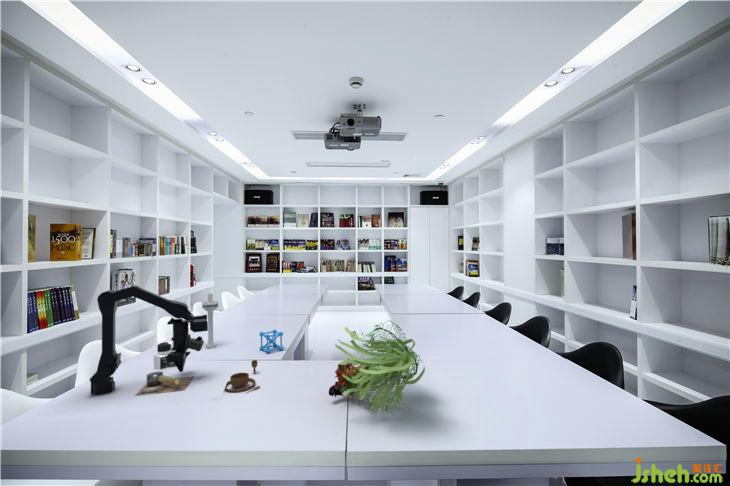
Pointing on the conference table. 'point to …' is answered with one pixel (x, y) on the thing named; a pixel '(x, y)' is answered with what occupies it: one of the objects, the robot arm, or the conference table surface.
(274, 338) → the molecular structure
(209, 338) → the model tower
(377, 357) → the plant
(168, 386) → the base plate
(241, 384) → the place setting
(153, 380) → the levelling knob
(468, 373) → the conference table surface
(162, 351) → the medicine bottle
